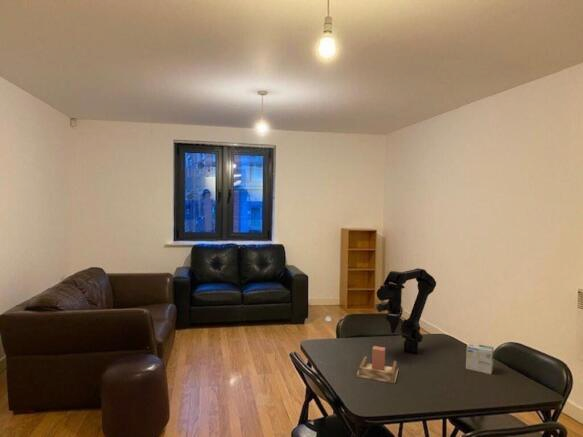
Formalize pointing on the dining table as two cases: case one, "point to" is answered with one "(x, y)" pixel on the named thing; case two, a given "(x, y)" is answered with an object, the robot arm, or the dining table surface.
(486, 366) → the light bulb box
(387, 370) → the rack
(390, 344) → the dining table surface
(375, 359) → the pink rectangular block
